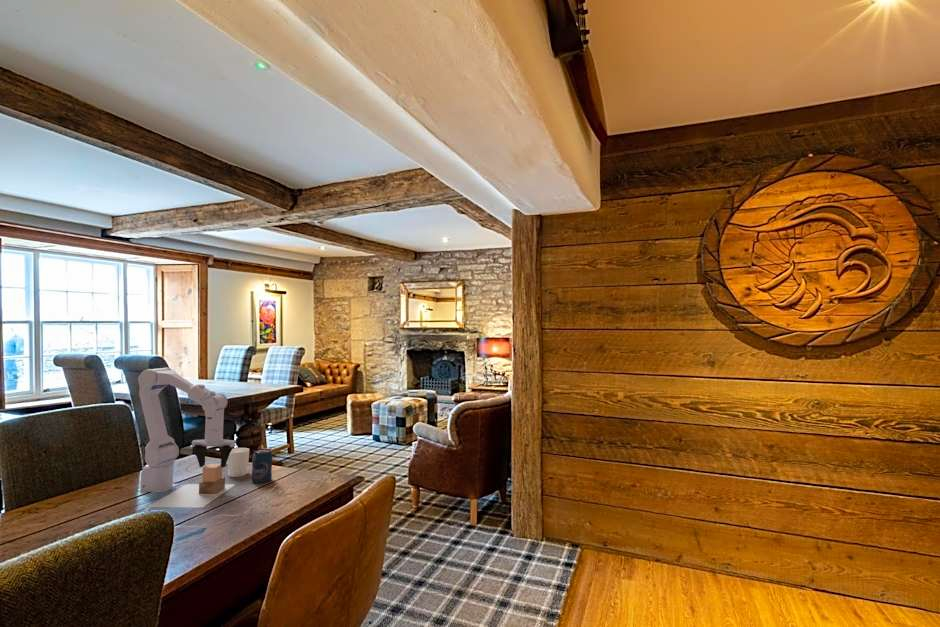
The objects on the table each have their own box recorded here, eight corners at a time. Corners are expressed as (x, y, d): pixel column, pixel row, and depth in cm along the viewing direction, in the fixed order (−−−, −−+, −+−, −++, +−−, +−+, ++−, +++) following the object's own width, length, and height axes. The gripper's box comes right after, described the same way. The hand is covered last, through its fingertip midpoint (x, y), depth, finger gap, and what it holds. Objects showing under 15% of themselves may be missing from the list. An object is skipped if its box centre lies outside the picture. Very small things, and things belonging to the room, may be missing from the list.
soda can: (249, 486, 169) (251, 453, 170) (253, 480, 176) (254, 449, 176) (269, 484, 171) (270, 452, 172) (272, 478, 178) (273, 448, 178)
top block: (202, 481, 160) (202, 467, 160) (209, 477, 165) (209, 463, 165) (215, 481, 160) (215, 467, 160) (221, 477, 165) (222, 463, 165)
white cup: (252, 472, 185) (253, 448, 185) (240, 479, 177) (241, 453, 177) (234, 471, 186) (235, 447, 186) (222, 478, 178) (223, 452, 178)
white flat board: (146, 508, 147) (146, 506, 147) (186, 485, 169) (186, 483, 169) (202, 509, 147) (202, 507, 147) (235, 485, 169) (235, 484, 169)
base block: (198, 493, 159) (199, 482, 159) (208, 487, 165) (208, 476, 165) (215, 494, 159) (216, 482, 160) (224, 488, 165) (225, 477, 166)
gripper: (187, 430, 159) (185, 469, 158) (228, 431, 159) (227, 470, 159) (198, 426, 166) (197, 463, 165) (238, 426, 166) (237, 464, 166)
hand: (212, 466), depth 163 cm, fingers open, 7 cm apart
